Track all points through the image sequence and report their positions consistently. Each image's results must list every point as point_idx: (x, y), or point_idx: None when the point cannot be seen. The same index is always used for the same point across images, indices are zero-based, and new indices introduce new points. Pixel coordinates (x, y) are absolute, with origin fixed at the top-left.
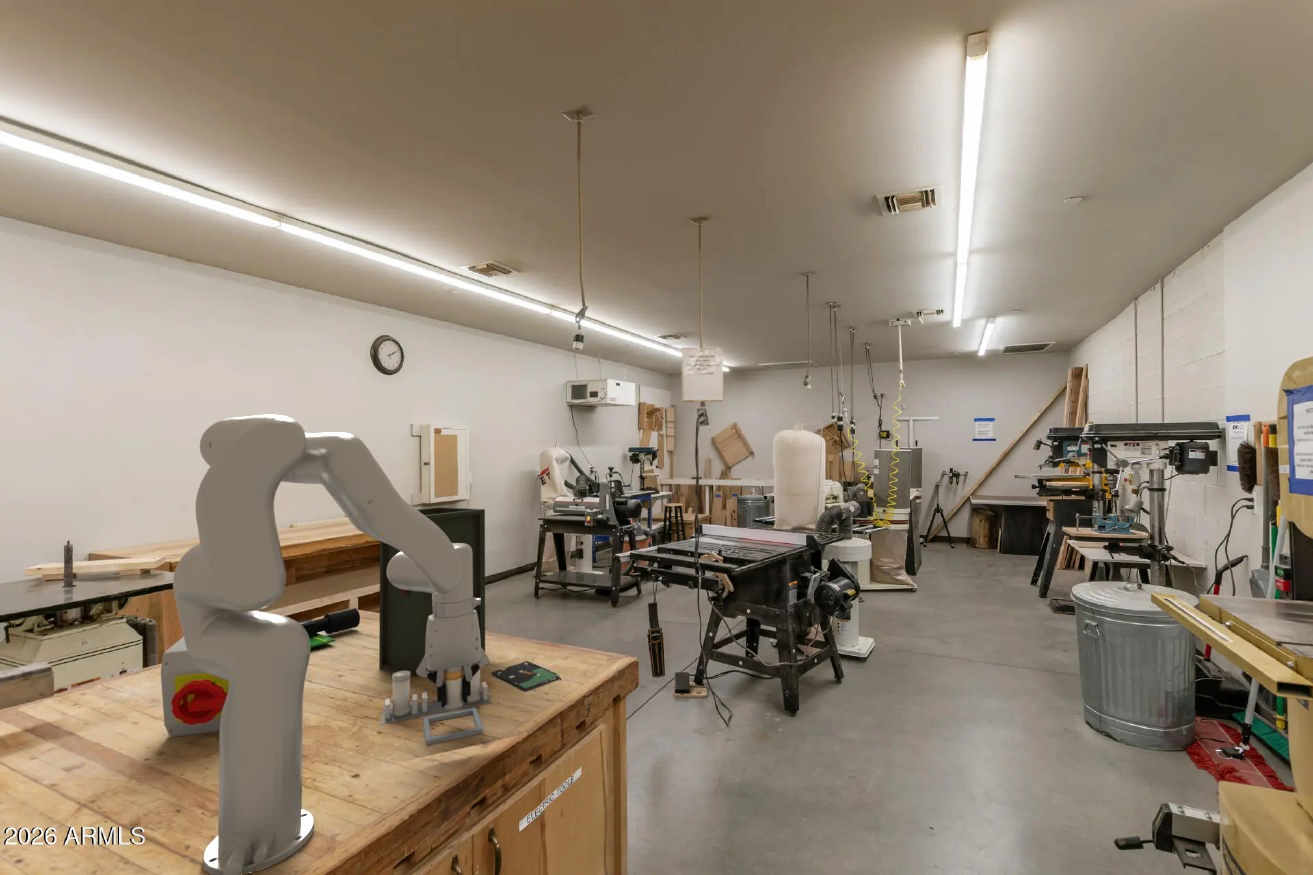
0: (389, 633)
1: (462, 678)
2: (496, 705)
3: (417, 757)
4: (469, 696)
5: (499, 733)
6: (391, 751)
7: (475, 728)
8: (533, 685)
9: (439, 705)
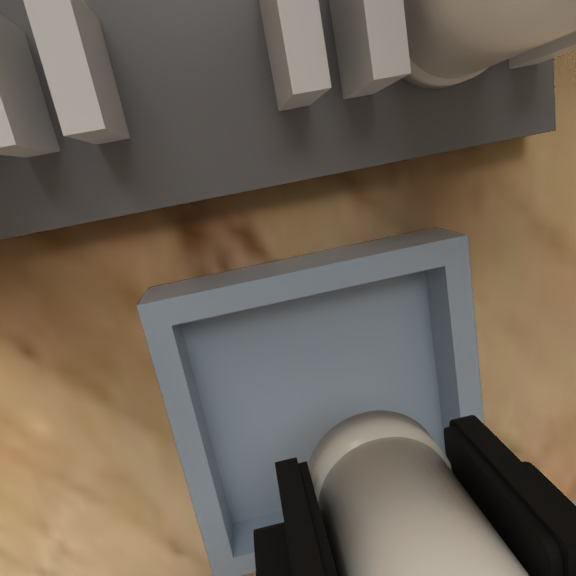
0: None
1: (555, 564)
2: (557, 69)
3: (184, 562)
4: (437, 71)
5: (534, 421)
6: (35, 494)
7: None
8: None
9: (203, 52)
